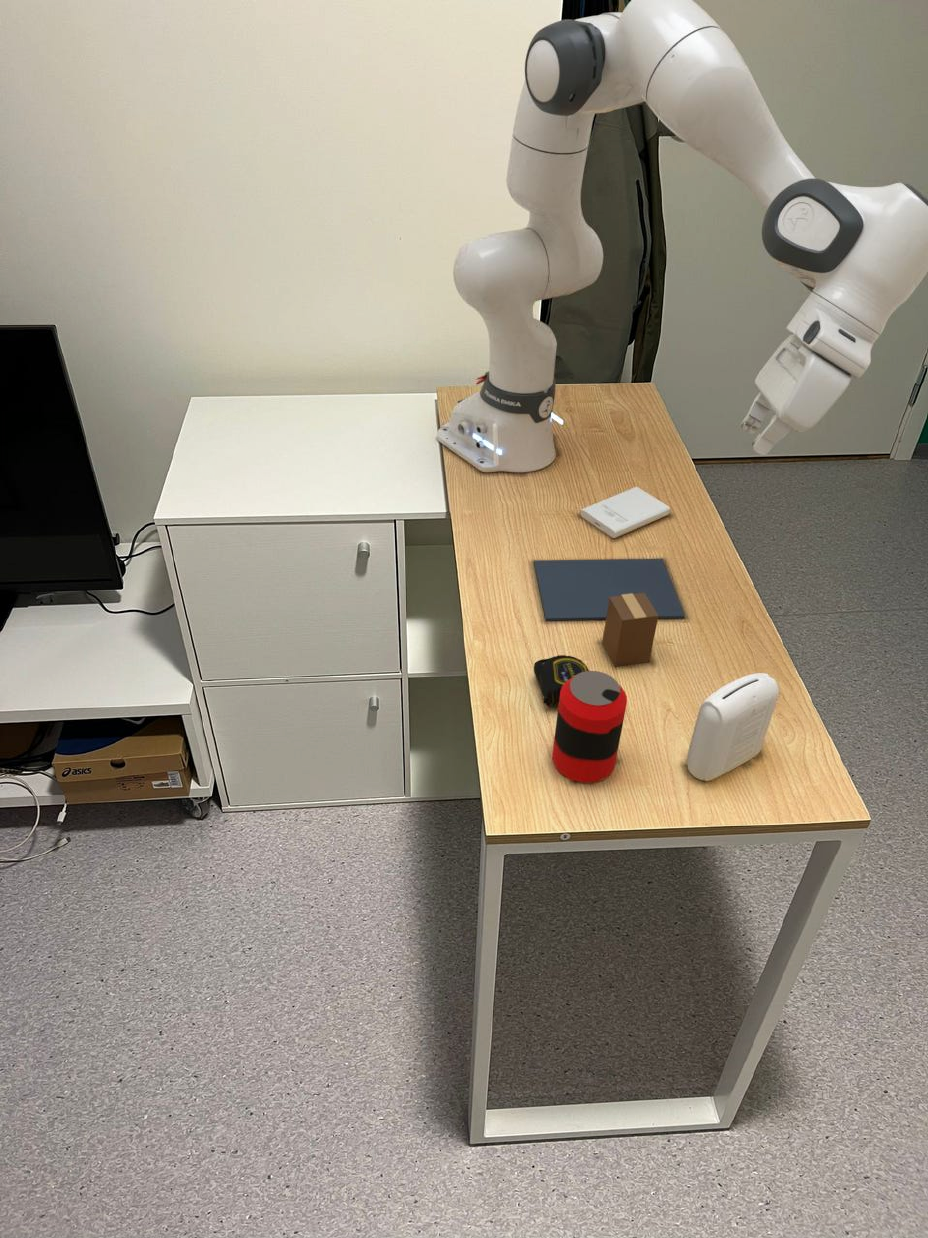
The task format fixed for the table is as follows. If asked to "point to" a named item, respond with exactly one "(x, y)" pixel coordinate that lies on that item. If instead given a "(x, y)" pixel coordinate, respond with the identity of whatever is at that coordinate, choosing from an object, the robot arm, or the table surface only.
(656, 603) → the desk mat
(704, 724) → the photo printer
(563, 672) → the tape measure
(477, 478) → the table surface
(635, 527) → the hard drive
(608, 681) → the soda can
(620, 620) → the box
